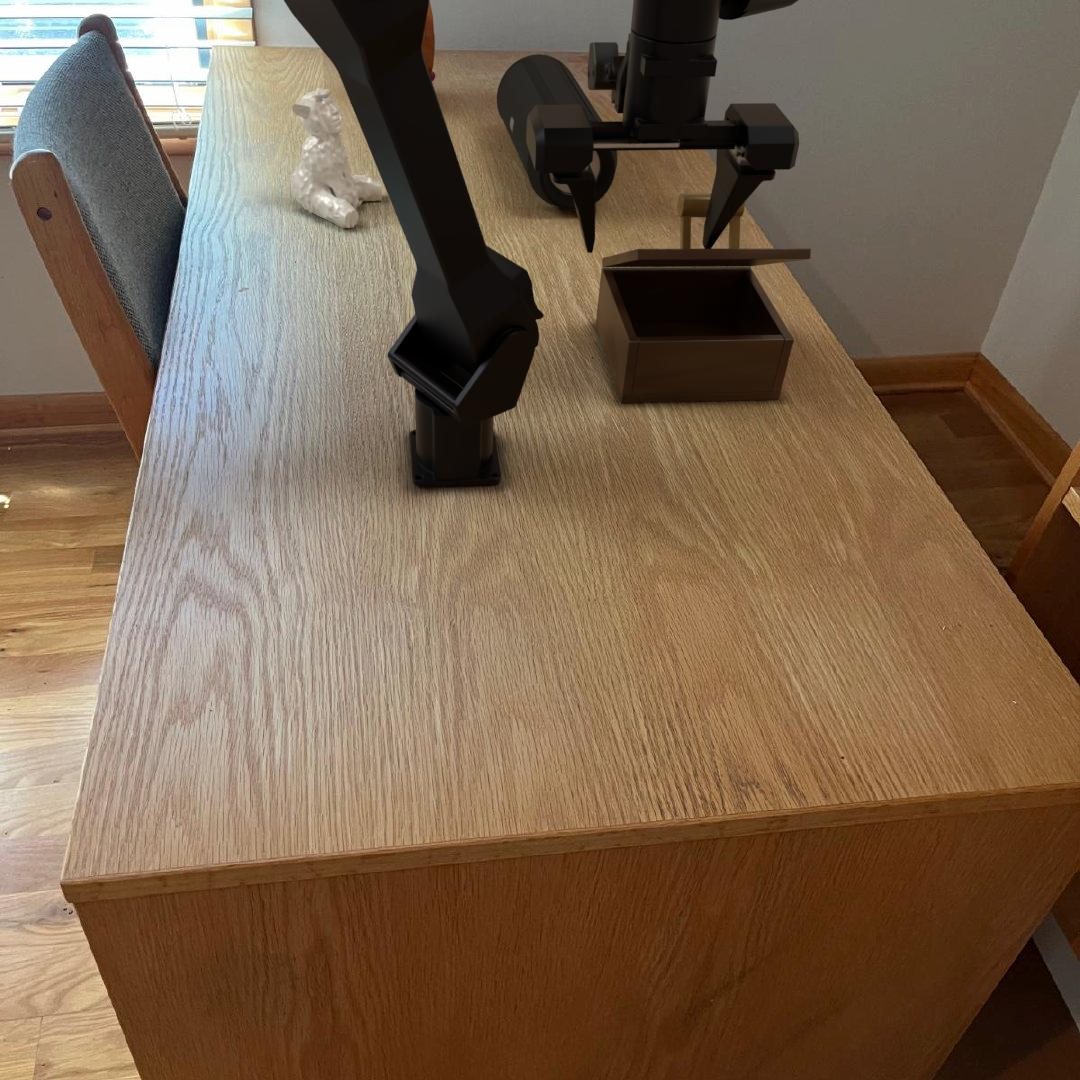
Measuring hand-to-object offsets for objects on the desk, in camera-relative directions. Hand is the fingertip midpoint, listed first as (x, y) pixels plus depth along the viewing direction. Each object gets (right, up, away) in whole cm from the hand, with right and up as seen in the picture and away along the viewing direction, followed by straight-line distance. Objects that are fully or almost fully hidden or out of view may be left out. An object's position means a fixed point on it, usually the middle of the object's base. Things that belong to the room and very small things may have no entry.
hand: (647, 248), depth 79 cm
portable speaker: (-7, +21, +42) cm, 47 cm away
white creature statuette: (-30, +13, +31) cm, 45 cm away
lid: (+5, 0, +6) cm, 7 cm away
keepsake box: (+4, -7, +11) cm, 14 cm away
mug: (-26, +34, +55) cm, 69 cm away
